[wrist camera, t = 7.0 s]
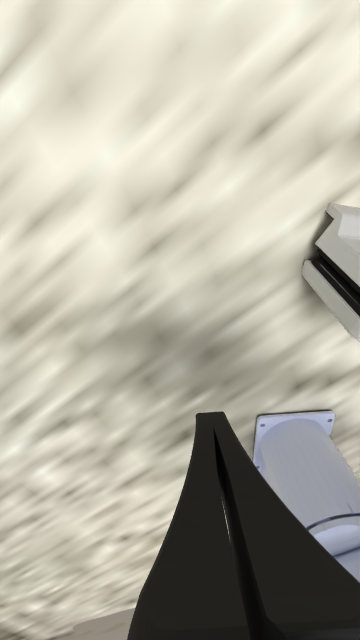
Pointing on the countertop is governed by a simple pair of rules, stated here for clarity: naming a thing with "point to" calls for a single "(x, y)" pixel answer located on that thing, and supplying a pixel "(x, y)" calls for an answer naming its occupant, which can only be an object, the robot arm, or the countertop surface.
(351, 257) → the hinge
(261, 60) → the countertop surface
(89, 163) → the countertop surface
